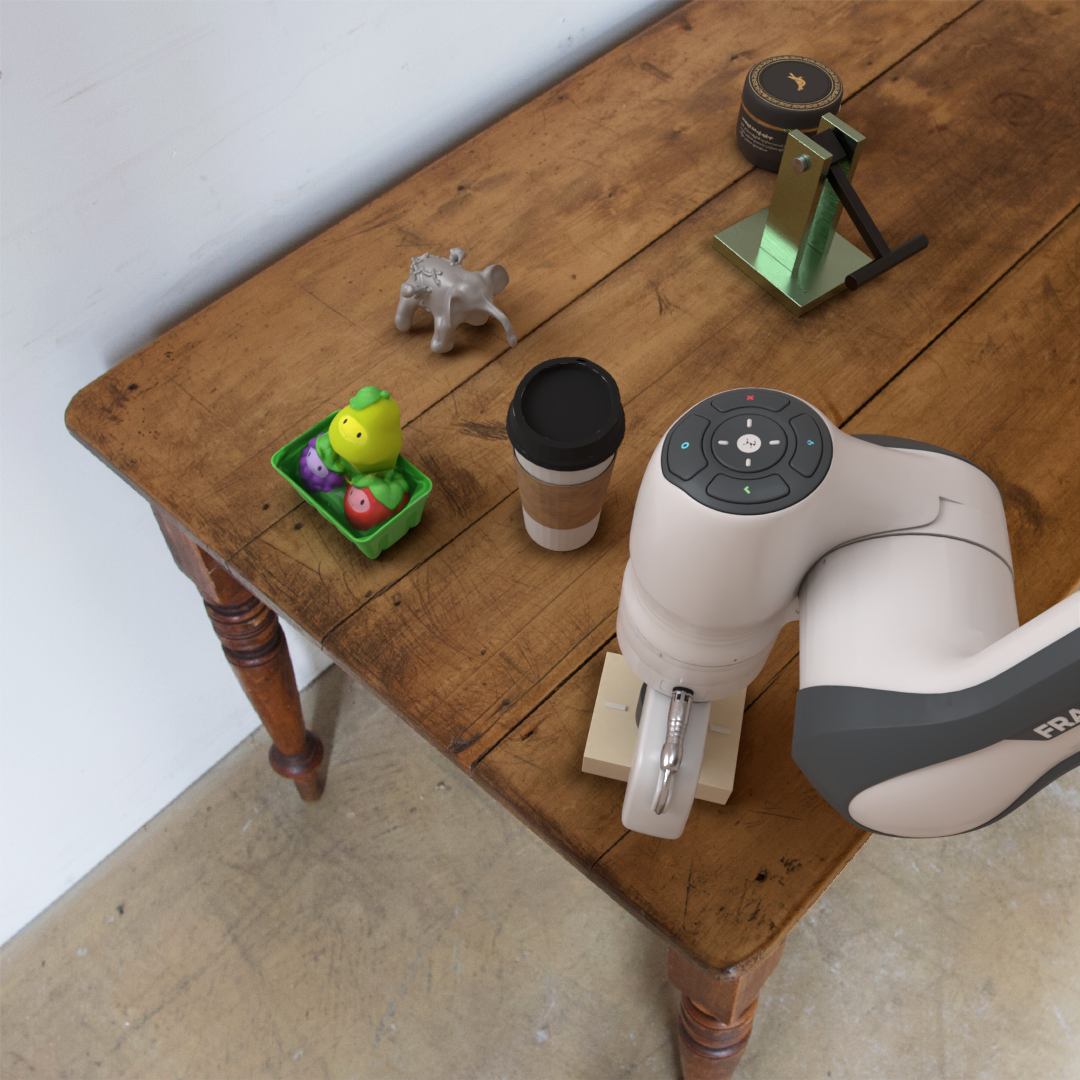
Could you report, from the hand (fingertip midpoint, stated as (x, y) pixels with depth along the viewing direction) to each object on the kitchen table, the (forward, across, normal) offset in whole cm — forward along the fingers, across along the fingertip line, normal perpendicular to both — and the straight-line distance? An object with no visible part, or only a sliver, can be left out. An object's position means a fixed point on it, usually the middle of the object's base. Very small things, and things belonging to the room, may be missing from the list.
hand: (667, 713), depth 67 cm
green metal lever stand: (+4, +51, -4) cm, 51 cm away
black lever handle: (-5, +48, -7) cm, 49 cm away
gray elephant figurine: (+4, +34, +24) cm, 42 cm away
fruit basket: (+4, +14, +27) cm, 30 cm away
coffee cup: (+4, +16, +11) cm, 20 cm away
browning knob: (+1, 0, 0) cm, 1 cm away
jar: (+4, +68, -1) cm, 68 cm away
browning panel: (+4, 0, 0) cm, 4 cm away
